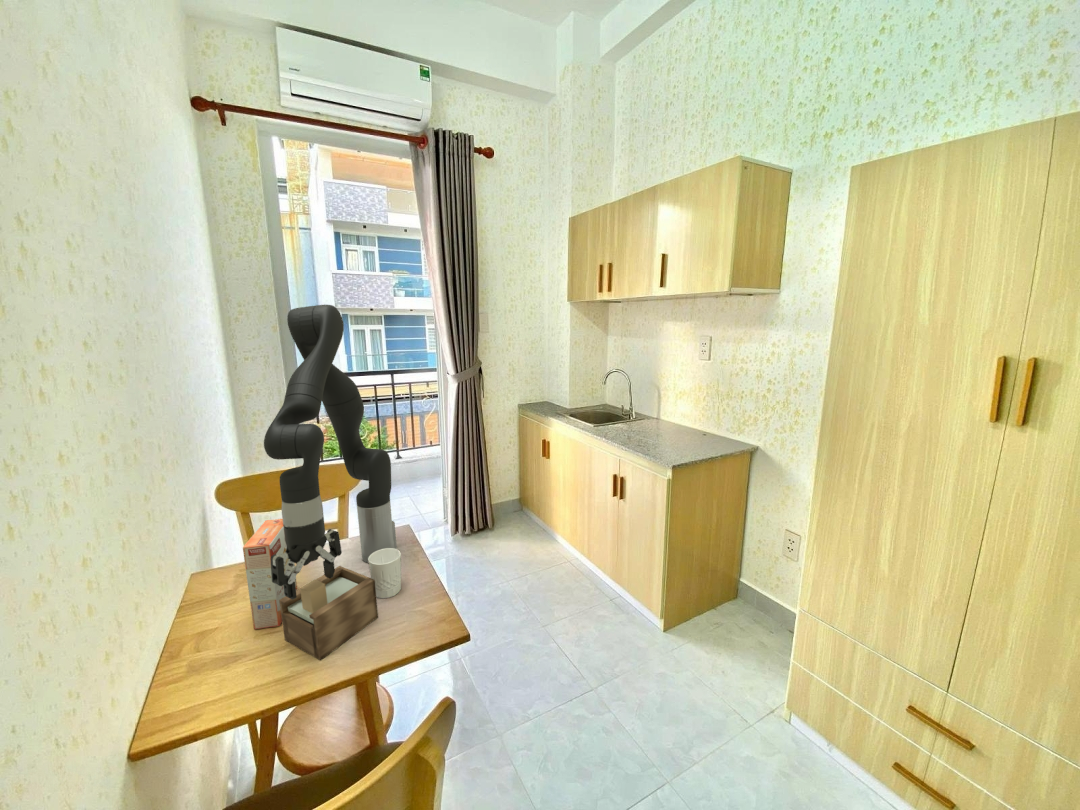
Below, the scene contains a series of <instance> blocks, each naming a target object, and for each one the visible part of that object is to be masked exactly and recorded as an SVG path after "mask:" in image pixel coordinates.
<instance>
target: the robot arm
mask: <svg viewBox="0 0 1080 810" xmlns="http://www.w3.org/2000/svg"><path fill="white" fill-rule="evenodd" d="M286 320H287V326H288V327H287V328H288V330H289V333H290V335H291V337H292V340H293V342H294V344H295V346H296V348H297V349H298V351H299V353H300V355H301V357H302V359H303V361H302V362H301V363H300V364H299V366H297V368H296V369H295V370H294V371H293V373H292V374H291V376H290V379H289V380H288V382H287V386H286V390H285V395H284V399H283V404H282V406H281V407H280V409H279V411H278V412H277V414H276V415H275V417H274V419H273V420H272V422H271V423H270V425H269V426H268V428H267V430H266V432H265V435H264V438H263V439H264V440H263V447H264V450H265V453H266V455H267V456H268V457H269V458H270V459H273V460H278V461H279V460H296V459H297V460H298V459H299V460H300V459H303V462H302V463H303V464H302V465H300V466H296V467H291V468H289V469H287V470H285V471H284V470H283V472H281V473H280V476H279V489H280V496H281V519H283V527H284V536H285V542H286V545H287V548H286V551H285V553H283V554H280V555H272V556H271V576H272V582H273V583H275V584H277V585H279V586H282V585H283V586H284V594H285V596H286V597H288V598H290V599H292V600H293V599H295V598H296V597H297V596H296V587H295V582H293V581H294V579H295V577H296V578H297V575H298V574H299V573H301V571H302V568H303V566H304V567H305V566H307V565H309V563H311V562H315V561H317V560H318V559H319V557H320V558H321V559H323V561H322V565H323V572H324V573H323V575H325V577H327V578H332V577H333V574H334V572H335V559H336V558H337V557H340V556H341V555H342V552H343V551H342V546H341V540H340V533H339V531H337V530H334V529H331V528H328V530H327V532H326V525H325V516H324V507H323V506H324V505H323V501H322V498H321V492H320V491H321V490H320V483H319V480H320V479H319V473H320V472H319V471H320V470H319V469H320V463H321V457H322V453H323V449H324V445H325V434H324V432H323V430H322V429H321V427H320V426H318V425H317V424H316V423H315V424H314V423H306V422H309V421H312V420H314V419H316V418H317V417H319V415H320V412H321V409H322V404H323V406H324V409H325V413H326V414H327V416H328V418H329V420H330V424H331V426H332V428H333V431H334V434H335V436H336V438H337V442H338V445H339V448H340V451H341V455H342V458H343V463H344V466H345V468H346V471H347V473H348V474H349V476H350V477H351V478H352V479H355V480H358V481H367V482H368V488H366V489H365V488H364V489H362V490H360V491H359V492H358V493H357V494H356V496H355V502H356V510H357V520H358V521H357V523H358V531H359V543H360V552H361V560H362V561H363V562H364V563H368V564H369V561H368V558H369V556H370V555H371V554H372V553H374V552H375V551H378V550H381V549H385V548H394V549H398V548H397V545H398V544H397V535H396V534H397V533H396V522H395V521H394V520H393V518H392V508H391V507H392V506H391V492H392V491H391V490H392V462H391V457H390V455H389V453H388V452H387V451H386V450H385V449H380V448H370V447H366V446H365V445H364V443H363V440H362V438H361V434H360V429H361V428H360V427H361V424H362V421H363V418H364V413H365V405H364V401H363V399H362V397H361V393H360V391H359V388H358V386H357V385H356V382H354V381H353V379H351V378H350V377H349V376H348V375H347V374H346V373H344V372H343V370H341V369H340V368H339V367H337V366H335V364H333V363H334V360H335V357H336V355H337V352H338V350H339V348H340V344H341V342H342V339H343V335H344V325H345V324H344V320H343V317H342V315H341V312H340V310H339V309H338V308H337V307H336V306H334V305H332V304H316V305H309V306H301V307H295V308H292V309H290V310H289V311H288V313H287V319H286ZM327 542H328V548H329V552H328V551H327V549H325V546H326V544H327ZM287 558H289V560H288V562H287V564H286V559H287ZM294 563H295V564H296V565H295V567H294V566H293V564H294ZM285 564H286V566H285V571H284V565H285Z"/></svg>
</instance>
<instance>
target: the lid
mask: <svg viewBox="0 0 1080 810" xmlns="http://www.w3.org/2000/svg"><path fill="white" fill-rule="evenodd" d="M356 585H358V584H357V583H355V582H352V581H350V580H347V579H345V578H343V577H340V576H339V577H338V578H336V579H334V580H332V581H331V582H329V583H327V584H326V585H325V584H324V583H322V582H320V581H318V580H315V579H313V580H311V581H310V582H307V583H306V584H303V586H301V587H299V589H300V591H301V599H300V600H298V601H297V602H295V603H293V604H292V605H290V606H288V611H289V612H291V613H293V614H295V615H297V616H299V617H301V618H303V619H305V620H307V621H308V622H310V623H312V624H314V621H313V619H311V618H310V616H309V615H311V614H312V613H314V612H315V611H317V610H318V609H320V608H322V607H323V606H325V605H326V604H328V603H330V602H331V601H333V600H334V599H336V598H337V597H339V596H341V595H342V594H344V593H345V592H347V591H348V590H350V589H352V588H353V587H355V586H356Z"/></svg>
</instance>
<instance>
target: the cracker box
mask: <svg viewBox="0 0 1080 810" xmlns="http://www.w3.org/2000/svg"><path fill="white" fill-rule="evenodd" d="M286 548H287V545H286V542H285V536H284V527H283V519H282V518H278V519H277V518H275V519H267V520H264V522H263V523H262V524H261V525H260V527H259V528H257V529H256V531H255V532H254V533H253V534H252V536H251V537H250V538H249V539H248V540H247V542H246V543H245V544H244V545H242V551H243V552H242V553H243V561H244V567H245V574H246V580H247V581H246V582H247V588H248V589H247V590H248V596H249V602H250V603H249V604H250V610H251V617H252V624H253V630H260V629H267V628H274V627H280V626H281V625H282V617H281V610H280V602H279V600H280V599H282V598H284V597H285V594H284V586H283V585H282V586H279V585H277V584H275V583H273V582H272V576H271V556H272V555H280V554H283V553H285V551H286ZM288 560H289V558H287V559H286V564H287V562H288ZM286 564H285V565H284V571H285V566H286ZM295 564H296V563H294V564H293V566H294V567H295V566H296V565H295ZM293 582H295V587H296V590H298V582H297V576H296V577H295V579H294V581H293Z"/></svg>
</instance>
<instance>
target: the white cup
mask: <svg viewBox="0 0 1080 810" xmlns="http://www.w3.org/2000/svg"><path fill="white" fill-rule="evenodd" d="M401 555H402V553H401V551H400V550H399V549H398V548H397V549H394V548H385V549H381V550H378V551H375V552H374V553H372V554H371V555H370V556H369V558H368V561H369V563H368V567H369V573H370V574H369V575H370V578H372V579H374V580H375V589H376V598H378V599H389V598H391V597H394V596H395V595H397V594H399V592H400V591H401V589H402V556H401Z"/></svg>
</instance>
